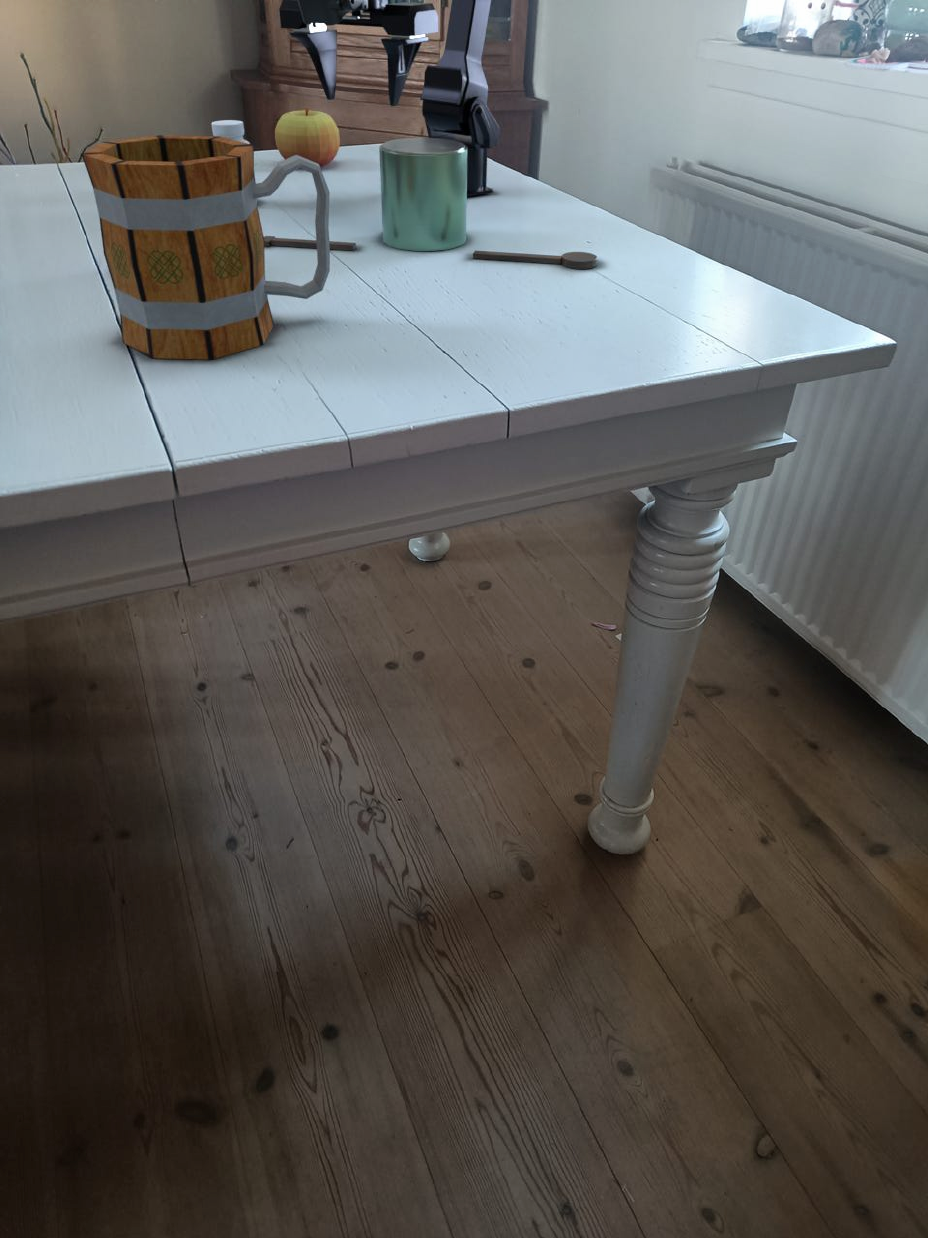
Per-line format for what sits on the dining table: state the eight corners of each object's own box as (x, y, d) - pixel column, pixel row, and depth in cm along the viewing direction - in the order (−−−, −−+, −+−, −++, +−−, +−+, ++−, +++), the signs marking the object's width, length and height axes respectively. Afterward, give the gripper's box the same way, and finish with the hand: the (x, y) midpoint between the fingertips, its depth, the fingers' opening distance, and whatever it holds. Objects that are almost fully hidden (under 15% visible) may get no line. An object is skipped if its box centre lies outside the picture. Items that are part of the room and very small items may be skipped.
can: (436, 224, 113) (435, 134, 107) (482, 243, 107) (484, 147, 100) (367, 235, 108) (363, 141, 102) (411, 255, 102) (409, 156, 96)
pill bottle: (263, 199, 122) (253, 119, 116) (251, 209, 118) (241, 125, 112) (224, 198, 123) (213, 117, 117) (211, 207, 118) (199, 124, 113)
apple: (312, 174, 136) (307, 114, 131) (265, 166, 140) (258, 108, 135) (353, 164, 143) (350, 106, 138) (306, 156, 147) (302, 100, 142)
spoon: (470, 261, 100) (470, 254, 100) (476, 252, 103) (476, 244, 103) (595, 270, 98) (596, 262, 98) (597, 259, 102) (598, 252, 101)
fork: (357, 246, 105) (357, 241, 104) (351, 252, 103) (351, 246, 102) (237, 238, 107) (236, 233, 106) (229, 244, 105) (228, 238, 104)
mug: (129, 369, 74) (85, 170, 65) (116, 317, 84) (76, 138, 75) (357, 341, 80) (347, 155, 71) (320, 296, 90) (306, 128, 81)
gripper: (238, -61, 96) (258, 105, 106) (383, -59, 89) (390, 119, 99) (302, -62, 104) (315, 93, 113) (440, -60, 97) (441, 105, 106)
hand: (361, 102), depth 108 cm, fingers open, 9 cm apart
